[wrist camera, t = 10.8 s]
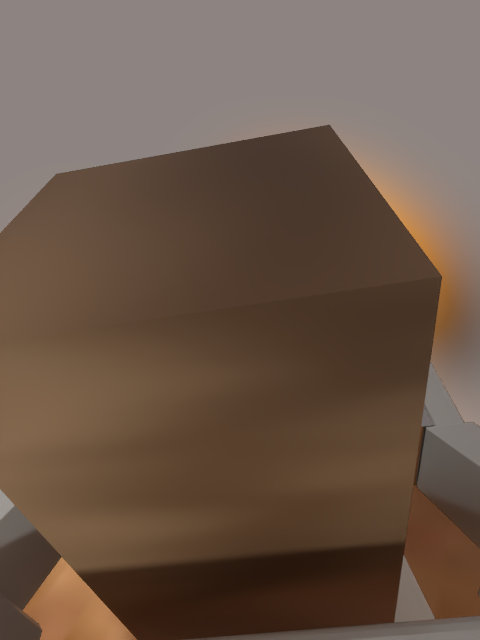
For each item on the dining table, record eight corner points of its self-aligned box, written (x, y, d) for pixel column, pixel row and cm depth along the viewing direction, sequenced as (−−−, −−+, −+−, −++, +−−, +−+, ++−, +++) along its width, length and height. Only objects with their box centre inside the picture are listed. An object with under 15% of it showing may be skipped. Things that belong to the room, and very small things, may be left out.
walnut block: (189, 696, 11) (-119, 359, 4) (200, 511, 15) (55, 173, 8) (385, 682, 11) (441, 275, 4) (343, 495, 15) (329, 124, 8)
